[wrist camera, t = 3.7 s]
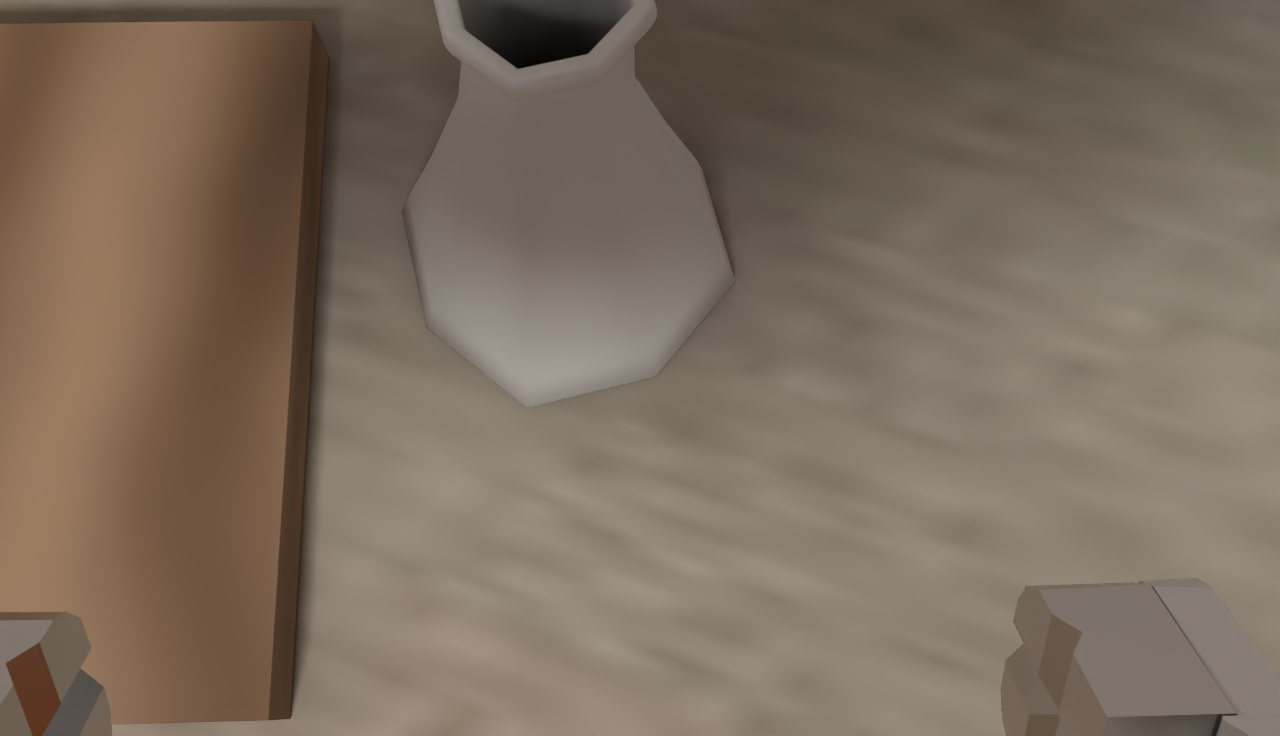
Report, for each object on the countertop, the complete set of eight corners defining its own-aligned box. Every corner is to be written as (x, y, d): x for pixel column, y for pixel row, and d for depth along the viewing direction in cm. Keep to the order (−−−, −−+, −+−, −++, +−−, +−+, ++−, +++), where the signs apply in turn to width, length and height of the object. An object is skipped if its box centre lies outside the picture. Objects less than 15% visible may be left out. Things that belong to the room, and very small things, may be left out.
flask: (349, 204, 26) (192, -87, 16) (617, 56, 27) (618, -297, 17) (513, 467, 24) (446, 316, 15) (789, 297, 25) (896, 53, 16)
